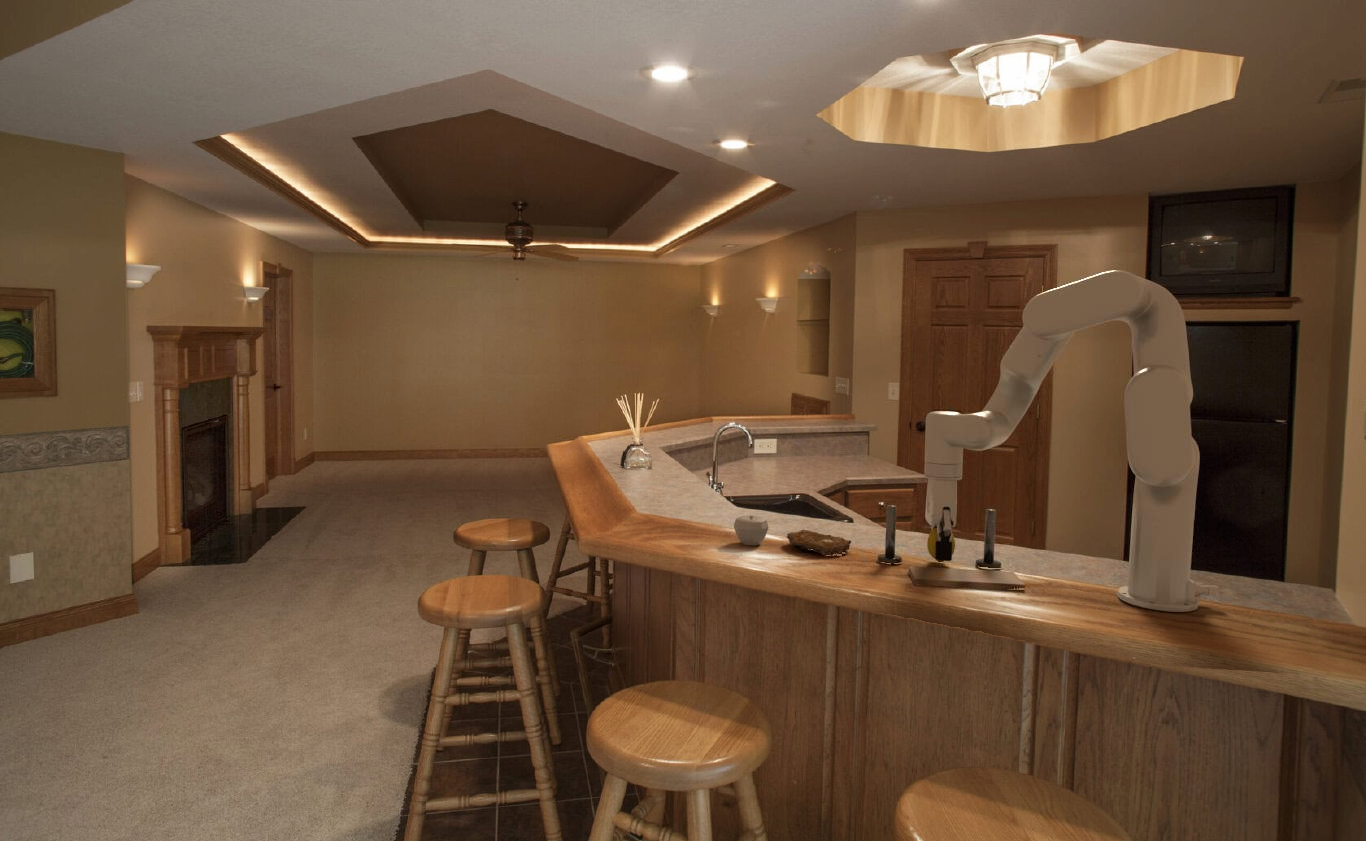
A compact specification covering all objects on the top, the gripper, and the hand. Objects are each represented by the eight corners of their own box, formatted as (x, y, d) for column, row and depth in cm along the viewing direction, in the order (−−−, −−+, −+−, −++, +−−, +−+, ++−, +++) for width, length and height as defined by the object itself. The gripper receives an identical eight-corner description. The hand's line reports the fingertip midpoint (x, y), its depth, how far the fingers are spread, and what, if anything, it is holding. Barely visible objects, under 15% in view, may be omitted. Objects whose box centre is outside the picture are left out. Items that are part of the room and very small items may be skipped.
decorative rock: (773, 552, 180) (834, 565, 172) (773, 534, 180) (835, 546, 171) (797, 539, 190) (856, 552, 181) (797, 522, 189) (857, 534, 180)
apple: (748, 550, 179) (749, 520, 179) (726, 542, 186) (726, 514, 185) (775, 545, 184) (775, 516, 183) (752, 538, 190) (753, 510, 190)
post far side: (900, 559, 173) (902, 504, 172) (903, 565, 168) (905, 508, 167) (876, 558, 174) (878, 503, 172) (878, 564, 169) (880, 507, 168)
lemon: (956, 567, 166) (957, 528, 165) (928, 565, 167) (929, 527, 166) (952, 560, 171) (953, 523, 170) (925, 559, 172) (926, 522, 172)
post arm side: (997, 564, 170) (1000, 508, 169) (1003, 570, 165) (1006, 512, 164) (973, 563, 171) (975, 507, 170) (978, 569, 166) (981, 511, 165)
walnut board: (1012, 577, 160) (1012, 571, 160) (1024, 590, 151) (1025, 584, 151) (908, 572, 163) (908, 566, 163) (914, 584, 154) (915, 578, 154)
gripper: (918, 465, 176) (916, 546, 178) (931, 476, 159) (928, 566, 161) (954, 465, 175) (951, 547, 177) (970, 477, 158) (967, 568, 160)
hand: (940, 555), depth 169 cm, fingers closed on lemon, 5 cm apart
